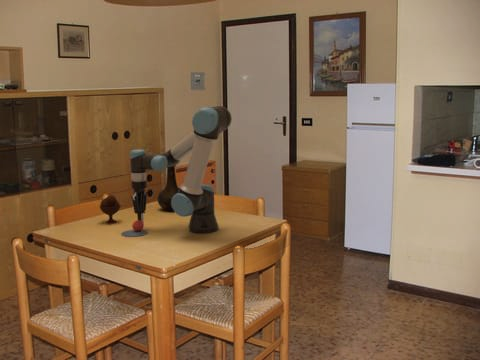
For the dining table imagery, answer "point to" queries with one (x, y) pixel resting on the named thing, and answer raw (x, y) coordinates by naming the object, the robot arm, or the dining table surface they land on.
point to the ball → (137, 225)
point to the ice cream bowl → (110, 207)
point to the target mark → (134, 233)
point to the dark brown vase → (168, 190)
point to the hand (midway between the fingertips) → (140, 225)
